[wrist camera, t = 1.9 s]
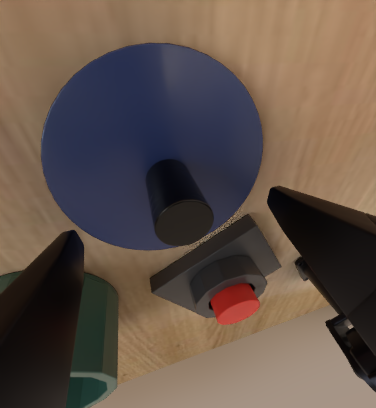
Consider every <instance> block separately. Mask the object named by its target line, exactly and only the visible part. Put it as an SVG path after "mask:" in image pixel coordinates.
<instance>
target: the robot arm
mask: <svg viewBox="0 0 376 408" xmlns="http://www.w3.org/2000/svg"><path fill="white" fill-rule="evenodd" d="M267 204H268V206H269V208H270V210H271V212H272V213H273V215H274V217H275V218H276V220H277V222H278V223H279V225H280V227H281V228H282V230H283V231H284V233H285V234H286V236H287V237H288V238H289V240H290V241H291V242H292V244H293V245H294V246H295V248H296V249H297V250H298V252H299V253H300V255H301V256H302V258H301V259H299V260H297V261H296V262H295V265H296V267H297V269H298V272H299V274H300V276H301V278H302V279H303V281H306V280H308V279H309V280H310V281H311V282H312V284H313V285H314V286H315V287H316V288H317V289H318V291H319V292H320V293H321V294H322V295H323V297H324V298H325V299H326V300H327V301H328V302H329V304H330V305H331V306H332V307H333V308H334V309H335V311H336V312H337V313H338V314H339V315H338V316H336V317H335V318H333V319H331V320H327V321H326V322H325V323H326V326H327V328H328V329H329V331H330V333H331V334H332V336H333V337H334V339H335V340H336V342H337V343H338V345H339V346H340V348H341V350H342V351H343V353H344V354H345V356H346V358H347V359H348V361H349V363H350V365H351V367H352V369H353V371H354V372H355V374H356V375H357V376H358V377H359V378H361V379H363V380H364V381H365V382H366V383H367V384H368V385H369V386H370V387H371V388H372V389H373V390H374V391H375V392H376V216H373V215H370V214H367V213H366V214H365V213H364V212H361V211H357V210H354V209H351V208H348V207H345V206H342V205H338V204H335V203H332V202H329V201H326V200H323V199H320V198H316V197H313V196H310V195H307V194H304V193H301V192H297V191H294V190H291V189H288V188H285V187H282V186H276V187H272V188H271V189H270V191H269V195H268V199H267ZM83 280H84V245H83V242H82V241H81V239H80V237H79V236H78V234H77V232H76V231H75V230H70V231H65V232H63V233H61V234H60V235H59V236H58V237H57V238H56V239H55V240H54V241H53V242H52V243H51V244H50V245H49V246H48V247H47V248H46V249H45V250H44V251H43V252H42V253H41V254H40V255H39V256H38V257H37V258H36V259H35V260H34V261H33V262H32V263H31V264H30V265H29V266H28V267H27V268H26V269H25V270H24V271H23V272H22V273H21V274H20V275H19V276H18V277H17V278H16V279H15V280H14V281H13V282H12V283H11V284H10V285H9V286H8V287H7V288H5V289H4V290H3V291H2V292H1V293H0V408H66V402H67V395H68V388H69V381H70V374H71V367H72V359H73V352H74V345H75V338H76V331H77V324H78V317H79V310H80V303H81V296H82V289H83ZM351 324H352V325H353V326H354V327H353V328H351V329H349V328H348V326H349V325H351Z"/></svg>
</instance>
